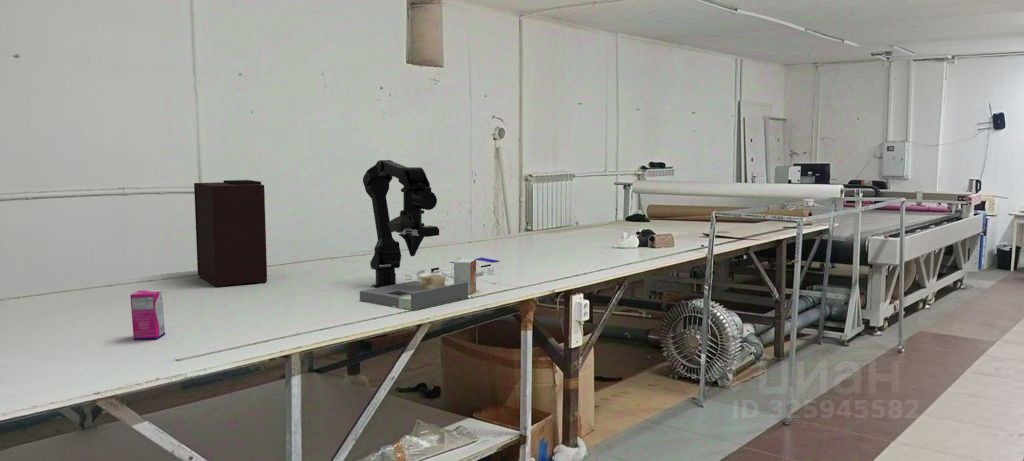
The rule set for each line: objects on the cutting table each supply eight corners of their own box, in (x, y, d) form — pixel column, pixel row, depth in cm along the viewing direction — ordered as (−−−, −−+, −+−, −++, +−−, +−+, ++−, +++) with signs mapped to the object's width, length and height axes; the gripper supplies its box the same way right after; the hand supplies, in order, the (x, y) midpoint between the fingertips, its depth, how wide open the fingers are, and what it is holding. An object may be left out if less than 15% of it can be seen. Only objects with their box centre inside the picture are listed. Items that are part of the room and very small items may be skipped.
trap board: (359, 300, 236) (359, 284, 236) (415, 289, 255) (414, 274, 255) (413, 310, 222) (413, 293, 222) (468, 297, 241) (468, 282, 241)
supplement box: (141, 334, 193) (139, 289, 192) (165, 334, 193) (163, 289, 192) (132, 340, 187) (129, 294, 186) (157, 339, 188) (155, 293, 186)
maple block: (421, 293, 233) (421, 276, 233) (432, 290, 237) (432, 274, 237) (433, 294, 230) (433, 278, 230) (444, 292, 234) (444, 276, 234)
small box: (470, 294, 247) (470, 262, 246) (453, 294, 248) (453, 261, 247) (476, 290, 255) (476, 258, 254) (460, 289, 256) (460, 258, 255)
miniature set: (482, 267, 298) (501, 276, 289) (404, 282, 276) (423, 293, 267) (483, 252, 296) (502, 260, 287) (405, 266, 275) (423, 275, 266)
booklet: (433, 264, 313) (433, 262, 313) (481, 259, 329) (481, 257, 329) (450, 268, 303) (450, 266, 303) (499, 262, 319) (499, 260, 319)
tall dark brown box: (215, 287, 257) (211, 183, 254) (197, 276, 279) (193, 180, 275) (272, 282, 268) (269, 182, 264) (250, 272, 290) (247, 179, 286)
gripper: (373, 206, 242) (373, 255, 244) (414, 211, 231) (414, 262, 233) (399, 204, 251) (399, 251, 253) (440, 208, 239) (440, 258, 241)
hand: (412, 256), depth 245 cm, fingers closed
